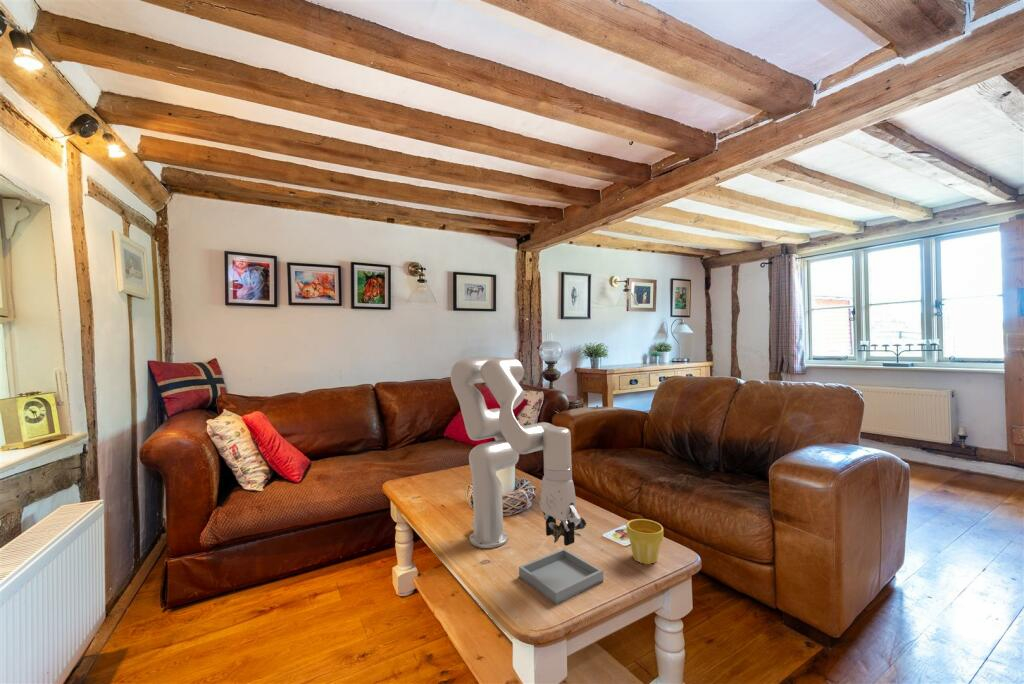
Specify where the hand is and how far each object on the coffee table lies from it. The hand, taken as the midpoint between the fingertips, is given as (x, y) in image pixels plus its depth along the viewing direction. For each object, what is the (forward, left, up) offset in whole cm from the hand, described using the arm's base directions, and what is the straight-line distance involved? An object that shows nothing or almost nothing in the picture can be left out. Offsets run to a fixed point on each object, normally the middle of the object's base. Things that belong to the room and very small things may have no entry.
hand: (560, 538), depth 118 cm
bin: (0, 0, -11) cm, 11 cm away
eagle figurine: (0, +2, -1) cm, 3 cm away
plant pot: (+7, +27, -12) cm, 30 cm away
